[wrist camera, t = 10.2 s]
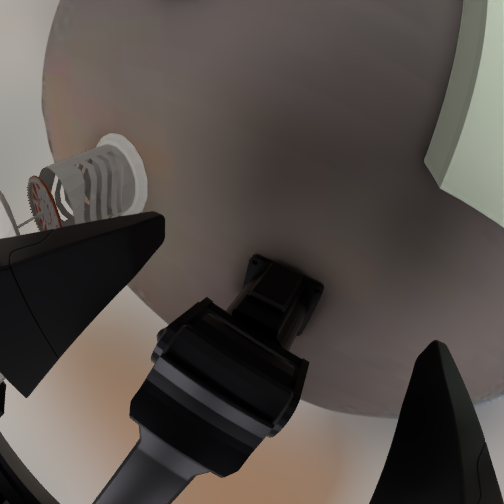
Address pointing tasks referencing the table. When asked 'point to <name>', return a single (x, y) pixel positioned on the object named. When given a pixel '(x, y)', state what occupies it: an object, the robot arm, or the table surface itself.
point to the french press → (85, 188)
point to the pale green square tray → (474, 114)
